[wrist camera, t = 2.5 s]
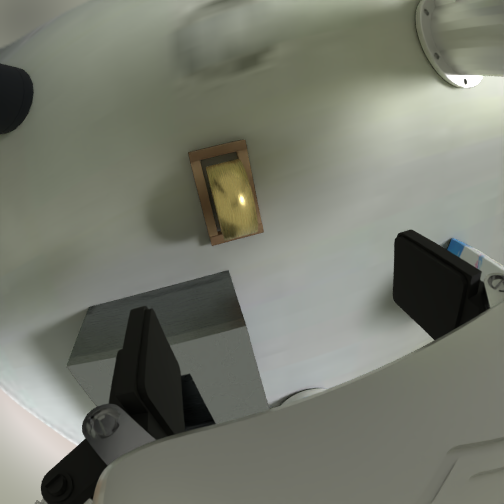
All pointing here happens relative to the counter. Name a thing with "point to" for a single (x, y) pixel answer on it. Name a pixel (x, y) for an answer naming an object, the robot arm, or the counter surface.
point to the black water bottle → (14, 97)
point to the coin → (232, 199)
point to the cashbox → (181, 348)
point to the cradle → (195, 162)
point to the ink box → (475, 258)
